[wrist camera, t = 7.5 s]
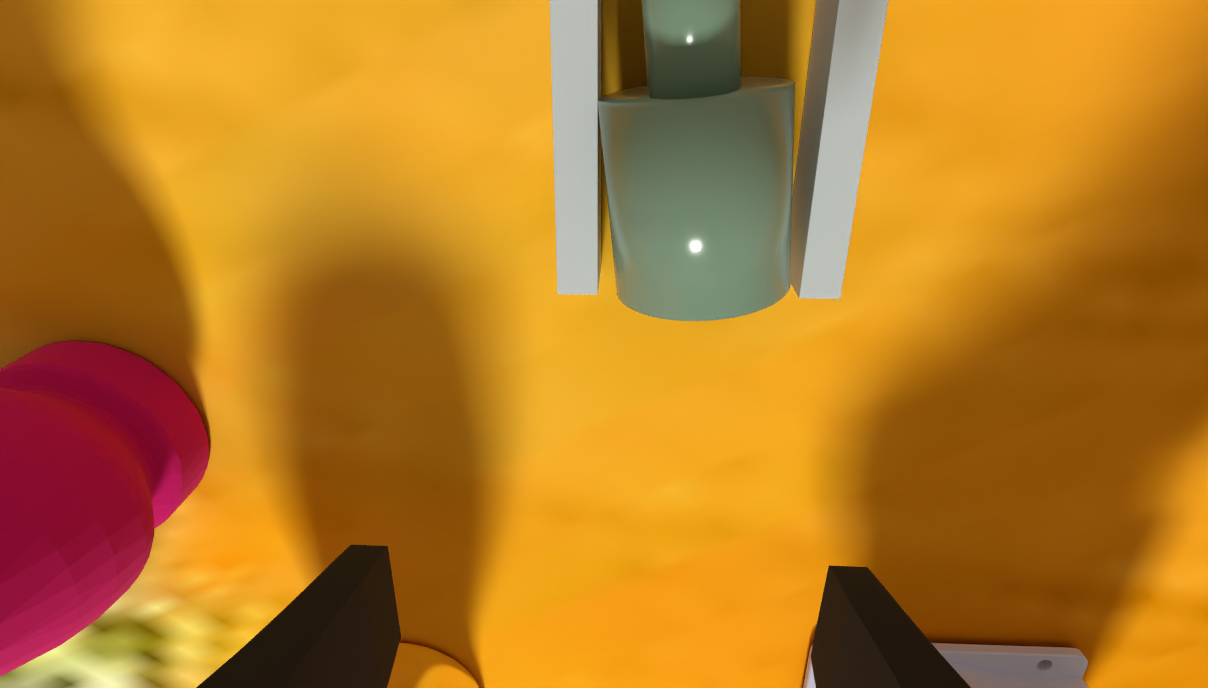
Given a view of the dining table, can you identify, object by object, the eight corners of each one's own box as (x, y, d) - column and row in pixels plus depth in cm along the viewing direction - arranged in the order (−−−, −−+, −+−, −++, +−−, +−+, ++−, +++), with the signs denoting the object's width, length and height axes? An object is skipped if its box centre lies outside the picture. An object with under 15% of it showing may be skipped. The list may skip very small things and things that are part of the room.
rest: (881, -149, 15) (915, -170, 13) (820, 271, 19) (840, 299, 17) (556, -148, 15) (545, -169, 13) (564, 267, 19) (557, 294, 18)
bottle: (773, 248, 19) (777, -103, 15) (807, 313, 15) (822, -132, 12) (618, 260, 19) (586, -80, 16) (614, 327, 15) (569, -100, 12)
